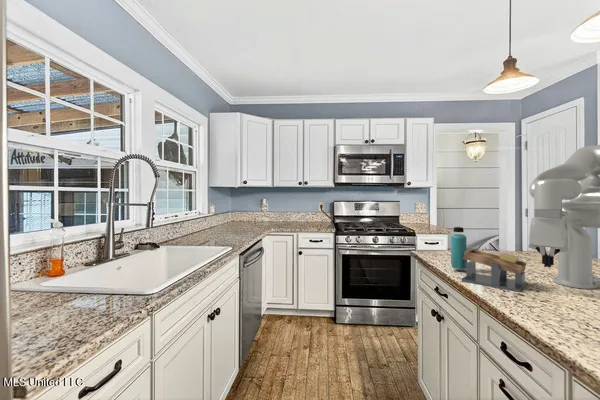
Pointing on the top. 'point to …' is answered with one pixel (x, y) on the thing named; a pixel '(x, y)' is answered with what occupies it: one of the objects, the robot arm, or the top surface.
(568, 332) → the top surface
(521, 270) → the beam
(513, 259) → the brass block
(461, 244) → the beverage bottle
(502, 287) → the beam stand
